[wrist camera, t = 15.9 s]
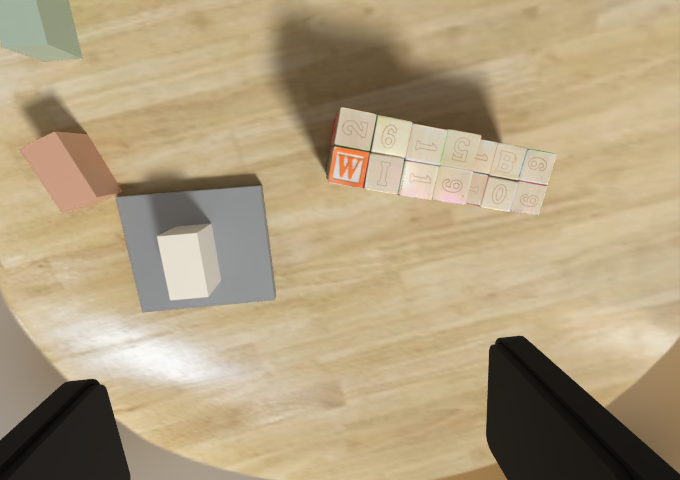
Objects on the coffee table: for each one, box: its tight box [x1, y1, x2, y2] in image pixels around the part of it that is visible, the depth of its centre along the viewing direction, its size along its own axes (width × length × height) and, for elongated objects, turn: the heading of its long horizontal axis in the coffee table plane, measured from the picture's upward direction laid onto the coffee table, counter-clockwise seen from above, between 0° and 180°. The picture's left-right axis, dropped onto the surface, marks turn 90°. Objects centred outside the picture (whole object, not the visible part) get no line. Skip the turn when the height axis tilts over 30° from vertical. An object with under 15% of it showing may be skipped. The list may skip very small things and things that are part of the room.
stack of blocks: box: [326, 107, 557, 216], centre depth 35 cm, size 21×6×12 cm, turn 80°
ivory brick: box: [157, 223, 221, 300], centre depth 38 cm, size 7×4×5 cm, turn 4°
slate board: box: [116, 185, 276, 312], centre depth 41 cm, size 14×16×2 cm
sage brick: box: [0, 0, 83, 62], centre depth 33 cm, size 7×4×5 cm, turn 5°
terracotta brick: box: [19, 132, 123, 214], centre depth 37 cm, size 7×4×5 cm, turn 24°
